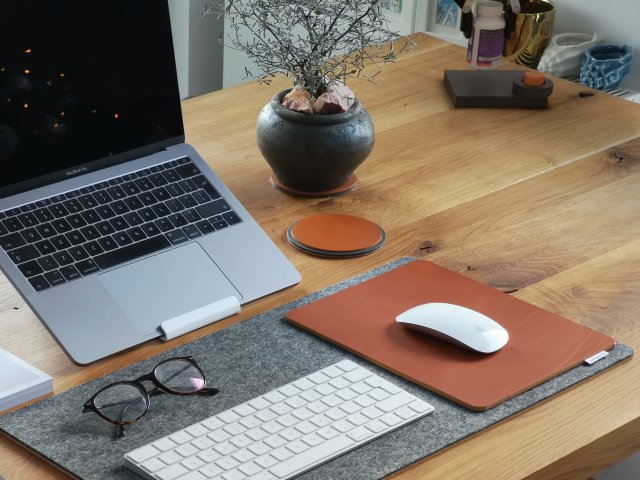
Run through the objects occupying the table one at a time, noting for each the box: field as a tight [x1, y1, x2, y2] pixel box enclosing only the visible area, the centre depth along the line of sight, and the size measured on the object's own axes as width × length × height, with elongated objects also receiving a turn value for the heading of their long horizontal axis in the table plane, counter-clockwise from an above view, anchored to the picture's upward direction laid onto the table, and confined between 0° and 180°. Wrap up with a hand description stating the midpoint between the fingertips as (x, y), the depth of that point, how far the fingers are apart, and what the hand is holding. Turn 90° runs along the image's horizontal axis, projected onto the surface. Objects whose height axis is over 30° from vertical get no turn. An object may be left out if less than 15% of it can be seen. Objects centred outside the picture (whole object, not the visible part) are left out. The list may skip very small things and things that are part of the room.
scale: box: [443, 69, 555, 109], centre depth 174 cm, size 15×13×4 cm
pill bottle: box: [465, 0, 506, 70], centre depth 172 cm, size 5×5×10 cm
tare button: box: [523, 70, 545, 86], centre depth 170 cm, size 3×3×2 cm
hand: (486, 35), depth 172 cm, fingers closed on pill bottle, 5 cm apart
